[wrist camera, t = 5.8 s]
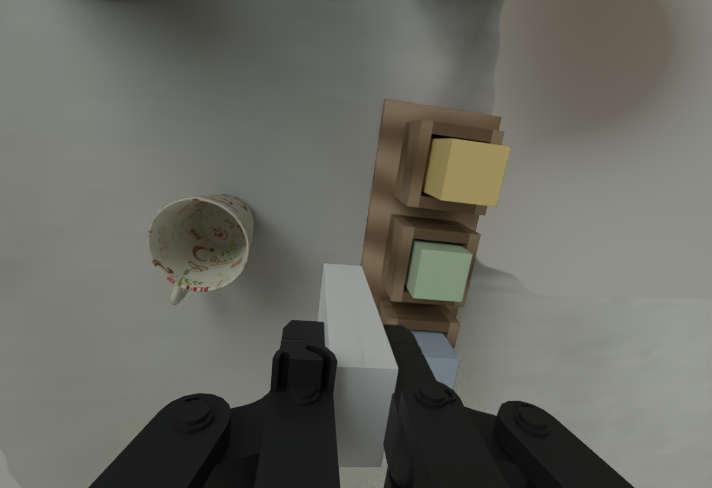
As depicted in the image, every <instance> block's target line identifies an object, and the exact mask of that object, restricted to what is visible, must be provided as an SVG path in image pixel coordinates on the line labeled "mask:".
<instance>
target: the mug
mask: <svg viewBox="0 0 712 488" xmlns="http://www.w3.org/2000/svg"><path fill="white" fill-rule="evenodd" d="M253 231H254V217H253V214H252V212H251V210H250V208H249V207H248V206H247V204H246V203H244V202H243V201H242V200H240V199H239V198H237V197H234V196H231V195H211V196H198V197H188V198H183V199H180V200H177V201H174V202H172V203H170V204H168V205H167V206H165V207H164V208H163V209H162V210H160V212H159V213H158V214H157V215H156V216H155V218H154V219H153V221H152V223H151V225H150V227H149V231H148V236H147V246H148V251H149V255H150V258H151V260H152V262H153V264H154V265H155V267H156V268H157V270H158V271H159V272H160V273H161V274H162V275H163V276H164V277H165V278H166V279H167V280H169V281H170V282H172V283H173V284H175V288H174V290H173V292H172V295H171V303H172V304H173V305H176V304H178V303H179V302H180V301H181V300H182V299H183V298H184V297H185V295H186V294H187V292H188V291H189V290H192V291H202V292H203V291H213V290H217V289H220V288H223V287H225V286H227V285H228V284H230V283H232V282H233V281H234V280H235V279H236V278H238V277H239V275H240V274H241V273H242V271H243V270H244V268H245V266H246V264H247V262H248V259H249V255H250V250H251V244H252V237H253Z"/></svg>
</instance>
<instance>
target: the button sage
mask: <svg viewBox="0 0 712 488" xmlns="http://www.w3.org/2000/svg"><path fill="white" fill-rule="evenodd" d="M472 255H473V254H472V253H470V252H469V251H468V250H466V249H465V248H464V247H462V246H461V245H459V244H458V243H453V242H443V241H434V240H424V239H414V238H413V240H412V246H411V251H410V257H409V262H408V268H407V273H406V279H405V286H406V287H407V289H408V291H409V292H410V294H411V296H412V297H413V298H417V299H430V300H443V301H456V302H462V299H463V294H464V290H465V285H466V281H467V277H468V272H469V268H470V264H471V259H472Z"/></svg>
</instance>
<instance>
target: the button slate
mask: <svg viewBox="0 0 712 488" xmlns="http://www.w3.org/2000/svg"><path fill="white" fill-rule="evenodd" d="M408 330H409V331H410V332H411V333H413V334H414V336H415V338H416V340H417V342H418V346H420V348H421V350H422V354H424V356H425V358H426V360H427V362H428V364H429V366H430V368H431V370H432V372H433V374H434V376H435V378H436V380H437V381H438V382H441V383H443V384H445V385H447V386H448V387H450V388H451V389H452V390H453V387H454V383H455V378H456V374H457V370H458V366H459V362H460V358H459V357H458V355H457V354H456V352H455V351H454V349H453V348H452V346H451V345H450V343H449V342H448V340H447V339H446V337H445V336H444V334H443V333H442V332H441V331H426V330H411V329H408Z"/></svg>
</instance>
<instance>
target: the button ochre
mask: <svg viewBox="0 0 712 488" xmlns="http://www.w3.org/2000/svg"><path fill="white" fill-rule="evenodd" d="M510 148H511V147H508V146H501V145H495V144H488V143H481V142H474V141H467V140H460V139H453V138H449V139H431V140H430V146H429V151H428V157H427V162H426V168H425V173H424V179H423V184H422V190H421V191H423V192H425V193H427V194H429V195H431V196H433V197H435V198H437V199H439V200H443V201H452V202H460V203H468V204H477V205H485V206H494V207H496V206H497V202H498V198H499V194H500V190H501V186H502V181H503V177H504V173H505V169H506V164H507V160H508V156H509V152H510Z"/></svg>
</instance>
